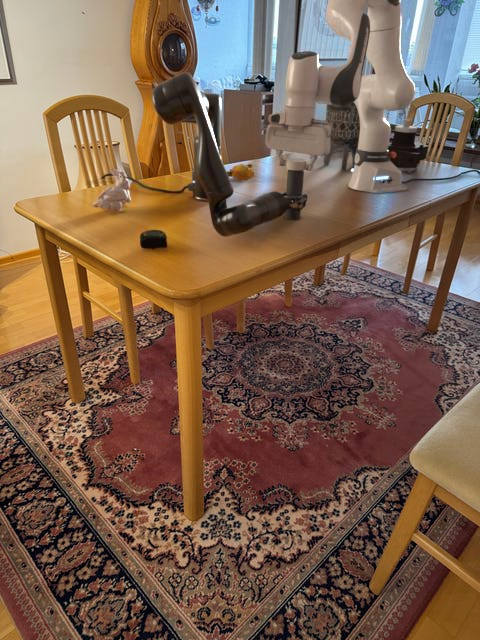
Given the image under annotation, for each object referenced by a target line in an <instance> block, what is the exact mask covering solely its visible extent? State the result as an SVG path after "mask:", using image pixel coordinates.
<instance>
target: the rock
mask: <svg viewBox="0 0 480 640" xmlns="http://www.w3.org/2000/svg"><path fill="white" fill-rule="evenodd" d="M333 153H338V154H342V147H340V148H338V149H336V150H335V151H334V152H333ZM348 153H351V151H350V150H349V152H348Z"/></svg>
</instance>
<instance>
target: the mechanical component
mask: <svg viewBox="0 0 480 640" xmlns="http://www.w3.org/2000/svg"><path fill="white" fill-rule="evenodd" d="M411 122H412V121H411V119H403V125H401V124H400V125H395V126H394V132H393V136H392V142H389V145H388V151H390V152H395V154H397V156H396V157H395V158H392V157H390V161H391V162H392V163H393V164H394V165H395V166H396V167H397V168H398V169H399V170H400V171H401V172H407V173H408V174H412V171H415V170H416V169H417V168H419V167H420V166H421V161H423V160H426V159H427V157H428V156H427V155H428V153H429V146H430V145H427V144H424V143H423V142H419V141H416V135H417V132H418V127H417V126H414V125H411Z"/></svg>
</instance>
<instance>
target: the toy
mask: <svg viewBox="0 0 480 640" xmlns="http://www.w3.org/2000/svg"><path fill="white" fill-rule="evenodd" d="M254 171H255V170H254V166H253V164H252V163H248V164H244V163H239V164H236V165H234V166H233V167H232V168H230V169H229V170H226V172H227V174H228V177H229V178H230V177H232V178H233V179H236V180H238V181H241V182H243V181H248V180H250V179H253V178H254V177H255V175H256V174H255V172H254Z"/></svg>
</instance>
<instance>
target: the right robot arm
mask: <svg viewBox="0 0 480 640" xmlns="http://www.w3.org/2000/svg"><path fill="white" fill-rule="evenodd" d="M401 1H402V0H328V1H327V5H326V9H325V19H326V22H327V24H328V26H329V28H330V29H331V31H333V33H334V34H336V35H337V36H339V37H341V38H343V39H345V40H348V41H349V42H350V45H349V49H348V54H347V59H346V62H345V63H344V64H342V65H340V66H330V65H329V66H328V65H327V66H326V65H322V64H320V63H319V62H320V61H319V54H318V53H317V52H315V51H312V50H307V51H306V50H305V51H298V52H294V53H293V54H291V55H290V57H289V60H288V63H287V70H286V77H285V97H286V98H285V101H284V104H283V105H284V106H283V110H281V111H279V112H275V113H271V114H269V115H268V118H267V119H268V123H269V124H268V125H267V126H266V132H265V146H266V148H267V149H269V150H275V155H276V157H277V160H278V166H279V167H285V166H286V164H287V159H284V156H283V154H284V152H289V153H297V154H303V155H309V162H308V163H306V169H305V171H309V172H312V171H313V170H314V164H315V163H316V161H317V160H318V157H324V156H326V155H328V153H329V152H330V135H331V129H332V127H331V125H330V124H329V123H328V122H327V121H326V119H325V120H321V119H316V110H317V109H316V108H317V104H319V105H327V104H329V105H335V106H340V107H348V106H349V105H351V104H352V103H353V102H354V103H355V105H356V107H357V110H358V114H359V119H360V134H359V142H358V148H357V149H356V155H355V166H353V168H351V169H350V172H352V174H351V176H350V180H349V182H348V184H347V187H348V188H350V189H352V190H355V191H359V192H367V193H372V194H386V193H387V194H388V193H393V192H394V193H395V192H404V191H408V186H406V184H407V183H409V182H410V183H411V182H414V181H415V182H417V181H420V182H421V181H425V182H433V181H448V180H453V179H456V178H458V177H460V176H461V175H465V174H468V173H473V172H475V173H477V174H478V175H480V170H478V169H470V170H469V169H468V170H466V171H462V172H460V173H458V174H456V175H453V176H449V177H438V178H437V177H433V178H421V177H420V178H410V179H408V180H405V181H403V173H402V171H400V170H399V169H398V168H397V167H396V166H395V165H394V164H393V163H392V162H391V161H390V157H392V158H395V157H396V156H397V154H395V152H390V151H388V145H389V143H390V139H391V135H392V128H391V125H390V124H389V122H388V121H387V120H386V115H385V111H387V112H396V111H402V110H406V109H408V107H409V106H410V105H411V104H412V103H413V101H414V98H415V95H416V86H415V83H414V82H413V80H412V79H411V78H410V77H409V75H408V74H407V71H406V69H405V66H404V63H403V59H402V54H401V53H402V52H401V51H402V50H401V41H402V40H401V37H402V5H401ZM366 11H367V14H366ZM365 60H367V61H368V62H369V63H370V64H371V66H372V68H373V70H374V74H373V73H370V74H365V75H363V71H364V67H365ZM327 124H328V125H327Z"/></svg>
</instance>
